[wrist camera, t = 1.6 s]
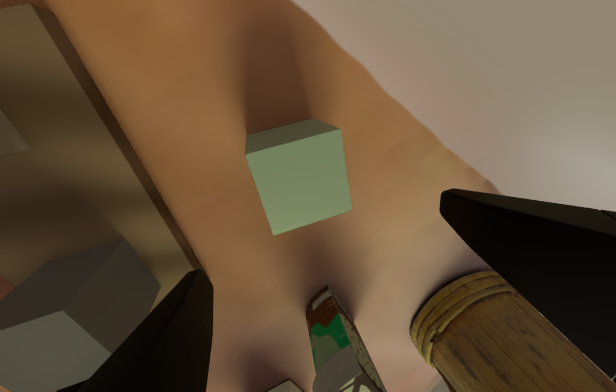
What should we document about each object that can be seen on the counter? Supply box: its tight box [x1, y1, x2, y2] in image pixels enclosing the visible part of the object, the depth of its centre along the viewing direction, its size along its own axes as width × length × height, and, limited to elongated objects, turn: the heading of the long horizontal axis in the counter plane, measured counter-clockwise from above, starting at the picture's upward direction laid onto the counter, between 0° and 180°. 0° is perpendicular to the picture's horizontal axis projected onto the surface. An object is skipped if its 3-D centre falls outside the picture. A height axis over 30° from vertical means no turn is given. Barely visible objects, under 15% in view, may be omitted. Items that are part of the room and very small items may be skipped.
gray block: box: [0, 238, 161, 392], centre depth 15 cm, size 6×6×7 cm
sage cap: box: [245, 118, 352, 235], centre depth 16 cm, size 6×6×7 cm
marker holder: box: [0, 4, 210, 310], centre depth 14 cm, size 22×12×7 cm, turn 12°
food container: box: [306, 285, 387, 392], centre depth 25 cm, size 12×6×10 cm, turn 27°
